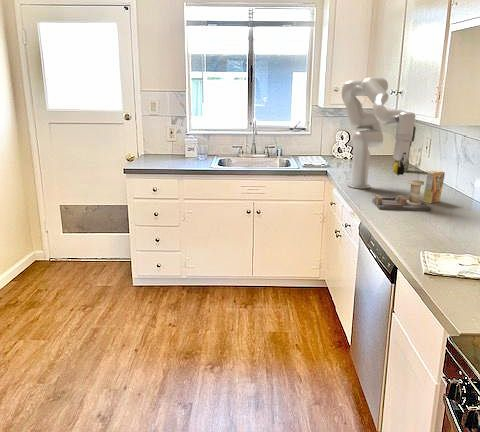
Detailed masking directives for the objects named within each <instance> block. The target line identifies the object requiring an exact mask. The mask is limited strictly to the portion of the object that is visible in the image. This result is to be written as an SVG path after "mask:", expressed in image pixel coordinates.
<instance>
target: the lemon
mask: <svg viewBox="0 0 480 432" xmlns="http://www.w3.org/2000/svg"><path fill="white" fill-rule="evenodd" d="M401 163H402V162H401ZM398 167H399V161H397V162H396V163H395V162H394V165H393V173H394V174H395V175H396V176H400V175H398V174H397V170H398ZM404 170H405V168H404Z"/></svg>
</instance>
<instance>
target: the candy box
mask: <svg viewBox="0 0 480 432" xmlns="http://www.w3.org/2000/svg"><path fill="white" fill-rule="evenodd" d="M445 175H446V173H445V171H442V170H441V171H440V170H436V171H427V174H426V179H425V180H426V181H425V186H424V192H423V193H424V194H423V200H422V202H424V203H425V204H426V203H427V204H433V203H438V202H441V196H442V192H443V191H442V190H443V187H444V186H443V185H444V180H445Z"/></svg>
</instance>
